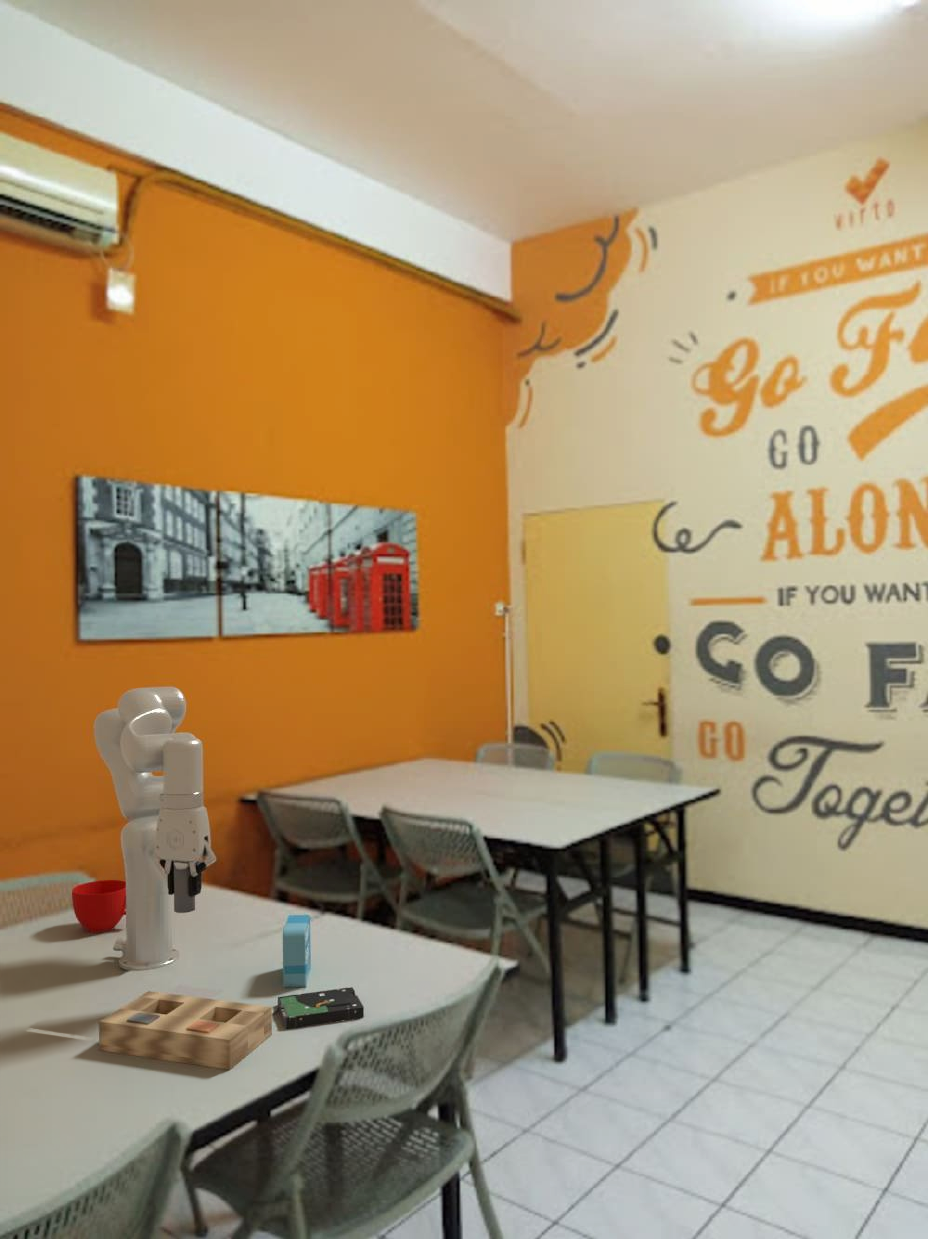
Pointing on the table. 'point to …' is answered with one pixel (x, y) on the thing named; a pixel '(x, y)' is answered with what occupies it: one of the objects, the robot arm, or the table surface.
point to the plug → (182, 888)
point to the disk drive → (319, 1007)
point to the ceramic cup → (99, 904)
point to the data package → (296, 951)
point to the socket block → (186, 1029)
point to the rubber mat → (194, 992)
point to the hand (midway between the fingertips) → (184, 892)
